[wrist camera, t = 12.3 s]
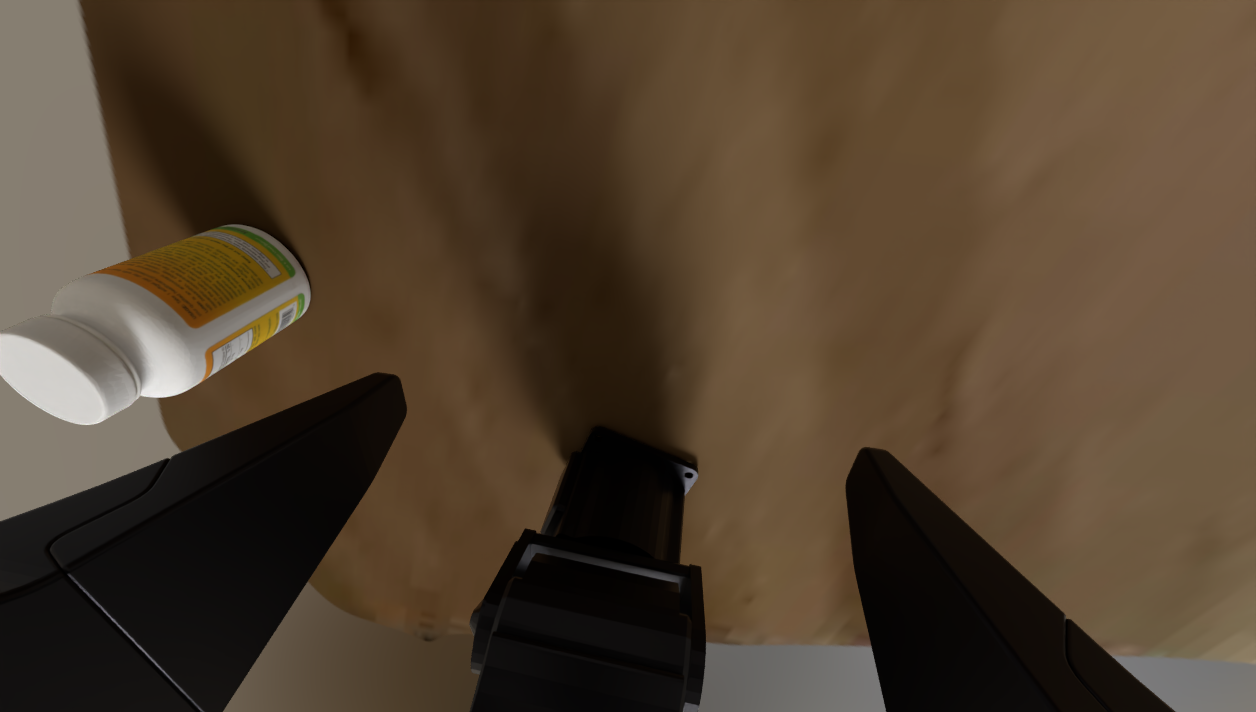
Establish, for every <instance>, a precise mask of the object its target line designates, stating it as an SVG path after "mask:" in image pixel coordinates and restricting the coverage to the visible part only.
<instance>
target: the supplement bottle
mask: <svg viewBox="0 0 1256 712" xmlns="http://www.w3.org/2000/svg"><path fill="white" fill-rule="evenodd" d="M310 297H311V292H310V286H309V282H308V279H307V277H306V274H305V272H304V271H303V269H302V267H301V265H300V264H299V262H298V261H297V260H296V258H295V257H294V256H293V255H292V254H291V253H290V251H289V250H288V249H287V248H286V247H285V246H283V245H282V244H281V243H280V242H279V241H277V240H276V239H275V238H273V237H272V236H270V235H269V234H267V233H265V232H263V231H261V230H258V229H256V228H253V227H249V226H245V225H235V224H232V225H225V226H221V227H218V228H214V229H211V230H209V231H206V232H203V233H200V234H198V235H195V236H192V237H190V238H187V239H184V240H181V241H179V242H176V243H173V244H171V245H168V246H165V247H162V248H160V249H157V250H154V251H151V252H149V253H146V254H143V255H141V256H138V257H135V258H132V259H130V260H127V261H124V262H121V263H118V264H116V265H113V266H110V267H107V268H105V269H102V270H99V271H96V272H94V273H91V274H88V275H85V276H83V277H81V278H78V279H76V280H74V281H72V282H70V283H68V284H67V285H65V286H64V287H62V288H61V289H60V290H59V291H58V293H57V294H56V296H55V298H54V300H53V303H52V308H51V314H46V315H41V316H39V317H35V318H31V319H28V320H26V321H24V322H21V323H19V324H17V325H14V326H12V327H9V328H7V329H5V330H2V331H0V375H1V376H2V377H3V378H4V380H5V381H7V382H8V383H9V384H10V385H11V386H12V388H14V389H15V390H16V391H17V392H18V393H19V394H21V395H22V396H23V397H24V398H26V399H27V400H28V401H30V402H31V403H33V404H34V405H36V406H37V407H39V408H41V409H42V410H44V411H46V412H48V413H49V414H51V415H53V416H56V417H58V418H60V419H63V420H66V421H69V422H72V423H76V424H83V425H92V424H96V423H99V422H102V421H104V420H105V419H107V418H109V417H110V416H112V415H114V414H116V413H118V412H119V411H121V410H123V409H125V408H127V407H129V406H130V405H131V404H132V403H133V402H134V401H135V400H136V399H138V398H139V396H146V397H169V396H174V395H177V394H180V393H183V392H185V391H187V390H189V389H191V388H192V387H194V386H196V385H197V384H199V383H201V382H202V381H204V380H205V379H207V378H208V377H210V376H211V375H213V374H214V373H216V372H217V371H219V370H221V369H222V368H224V367H225V366H227V365H228V364H230V363H231V362H233V361H234V360H236V359H237V358H239V357H241V356H242V355H244V354H245V353H247V352H248V351H250V350H251V349H253V348H255V347H256V346H258V345H259V344H261V343H262V342H264V341H265V340H267V339H268V338H270V337H271V336H273V335H275V334H276V333H278V332H279V331H281V330H282V329H284V328H285V327H287V326H288V325H290V324H291V323H293V322H294V321H296V320H297V319H298V318H300V317H301V316H302V315H303V314H304V313H305V311H306V310H307V308H308V306H309V303H310Z"/></svg>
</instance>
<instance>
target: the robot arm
mask: <svg viewBox="0 0 1256 712" xmlns="http://www.w3.org/2000/svg"><path fill="white" fill-rule="evenodd" d="M406 413H407V405H406V401H405V397H404V393H403V388H402V384H401V381H400V379H399V377H398V376H396V375H394V374H387V373H380V372H377V373H373V374H371V375H369V376H366V377H364V378H361V379H359V380H356V381H354V382H351V383H349V384H347V385H344V386H342V387H339V388H337V389H334V390H332V391H330V392H327V393H325V394H322V395H320V396H317V397H315V398H312V399H310V400H308V401H305V402H303V403H300V404H298V405H295V406H293V407H291V408H288V409H286V410H283V411H281V412H278V413H276V414H273V415H271V416H269V417H266V418H264V419H261V420H259V421H256V422H254V423H252V424H249V425H247V426H244V427H242V428H239V429H237V430H234V431H232V432H230V433H227V434H225V435H222V436H220V437H217V438H215V439H212V440H210V441H208V442H205V443H203V444H200V445H198V446H195V447H193V448H191V449H188V450H186V451H183V452H181V453H178V454H176V455H174V456H172V457H171V459H169V458H166V459H164V460H161V461H159V462H157V463H154V464H151V465H149V466H147V467H144V468H142V469H139V470H137V471H134V472H132V473H129V474H127V475H124V476H122V477H119V478H116V479H114V480H111V481H109V482H107V483H104V484H101V485H99V486H96V487H94V488H91V489H88V490H85V491H83V492H80V493H77V494H74V495H72V496H69V497H66V498H64V499H61V500H58V501H56V502H53V503H50V504H47V505H45V506H42V507H39V508H36V509H34V510H31V511H28V512H25V513H22V514H20V515H17V516H14V517H11V518H9V519H6V520H3V521H0V712H223V711H224V709H225V707H226V706H227V704H228V703H229V701H230V700H231V698H232V697H233V695H234V693H235V692H236V691H237V689H238V687H239V686H240V684H241V683H242V681H243V680H244V678H245V677H246V675H247V674H248V672H249V671H250V669H251V667H252V666H253V664H254V663H255V661H256V660H257V658H258V657H259V655H260V654H261V652H262V650H263V649H264V648H265V646H266V645H267V643H268V642H269V640H270V638H271V637H272V635H273V634H274V632H275V631H276V629H277V628H278V626H279V625H280V623H281V622H282V620H283V618H284V617H285V615H286V614H287V612H288V610H289V609H290V608H291V606H292V605H293V603H294V601H295V600H296V599H297V597H298V595H299V594H300V592H301V591H302V589H303V588H304V586H305V585H306V583H307V582H308V580H309V579H310V577H311V576H312V574H313V573H314V571H315V569H316V568H317V566H318V565H319V563H320V562H321V560H322V559H323V557H324V556H325V554H326V553H327V551H328V550H329V548H330V546H331V545H332V543H333V542H334V540H335V539H336V537H337V536H338V534H339V533H340V531H341V530H342V528H343V527H344V525H345V523H346V522H347V520H348V519H349V517H350V516H351V514H352V513H353V511H354V510H355V508H356V507H357V505H358V504H359V502H360V500H361V499H362V497H363V496H364V494H365V493H366V491H367V490H368V488H369V486H370V485H371V483H372V481H373V480H374V478H375V476H376V474H377V472H378V470H379V468H380V467H381V465H382V463H383V461H384V459H385V457H386V455H387V453H388V451H389V449H390V447H391V445H392V443H393V441H394V439H395V437H396V435H397V433H398V431H399V429H400V427H401V425H402V423H403V421H404V419H405V417H406ZM596 435H600V436H602V437H598V436H596ZM687 472H691V473H687ZM697 478H698V468H697V467H696V466H695V465H693V464H691V463H688V462H686V461H683V460H681V459H679V458H676V457H674V456H671V455H669V454H666V453H664V452H661V451H659V450H657V449H654V448H652V447H649V446H647V445H644V444H642V443H640V442H637V441H635V440H632V439H630V438H627V437H625V436H622V435H620V434H618V433H615V432H613V431H610V430H608V429H605V428H603V427H594V428H593V429H592V430H591V432H590V434H589V436H588V438H587V440H586V442H585V444H584V446H583V448H582V450H581V452H577V451H576V452H573V453H572V454H571V456H570V458H569V460H568V462H567V465H566V467H565V469H564V471H563V473H562V475H561V477H560V480H559V482H558V485H557V488H556V491H555V493H554V496H553V499H552V502H551V504H550V507H549V510H548V512H547V515H546V518H545V521H544V523H543V526H542V529H541V531H540V532H541V534H540V533H536V531H535V530H530V529H526V528H525V530H524V531H523V533H522V535H521V537H520V539H519V540H518V541H516V542H515V543H514V545H513V547H512V549H511V551H510V552H509V554H508V556H507V558H506V560H505V561H504V563H503V565H502V567H501V568H500V570H499V572H498V574H497V576H496V577H495V579H494V581H493V583H492V585H491V586H490V588H489V590H488V592H487V594H486V595H485V597H484V599H483V600H482V601H481V602H480V604H479V605H478V606H477V607H476V608H475V610H474V611H473V613H472V616H471V619H470V627H471V630H472V632H473V635H474V642H473V650H472V658H471V670H472V673H476V674H480V675H479V679H478V683H477V686H476V690H475V694H474V698H473V702H472V705H471V709H470V712H698V709H699V704H700V699H701V693H702V686H703V679H704V669H705V655H706V630H705V616H704V601H703V587H702V573H701V567H700V566H696V565H691V564H690V565H689V566H687V565H682V564H680V553H681V540H682V526H683V513H684V499H685V495H686V493H687V492H688V491H689V489H690V488H691V486H692V485H693V484H694V482H695V481H696V480H697ZM846 499H847V508H848V518H849V527H850V537H851V547H852V556H853V563H854V569H855V574H856V580H857V584H858V589H859V593H860V597H861V602H862V606H863V611H864V615H865V620H866V624H867V628H868V633H869V637H870V642H871V646H872V651H873V655H874V659H875V664H876V668H877V673H878V677H879V682H880V686H881V691H882V695H883V699H884V704H885V708H886V712H1175V711H1174V710H1173V709H1172V708H1170V707H1169V706H1168V705H1167V704H1166V703H1165V702H1163V701H1162V700H1161V699H1160V698H1159V697H1157V696H1156V695H1155V694H1154V693H1153V692H1152V691H1150V690H1149V689H1148V688H1147V687H1146V686H1145V685H1143V684H1142V683H1141V682H1140V681H1139V680H1137V679H1136V678H1135V677H1134V676H1133V675H1132V674H1131V673H1130V672H1128V671H1127V670H1126V669H1125V668H1124V667H1123V666H1122V665H1121V664H1120V663H1118V662H1117V661H1116V660H1115V659H1114V658H1113V657H1112V656H1111V655H1110V654H1108V653H1107V652H1106V651H1105V650H1104V649H1103V648H1102V647H1101V646H1099V645H1098V644H1097V643H1096V642H1095V641H1094V640H1093V639H1092V638H1091V637H1090V636H1088V635H1087V634H1086V633H1085V632H1084V631H1083V630H1082V629H1081V628H1080V627H1079V626H1078V625H1077V624H1075V623H1074V622H1073V621H1072V620H1071V619H1066V615H1065V614H1064V613H1063V612H1062V611H1061V610H1060V609H1059V608H1058V607H1057V606H1056V605H1055V604H1053V603H1052V602H1051V601H1050V600H1049V599H1048V598H1047V597H1046V596H1045V595H1044V594H1043V593H1042V592H1040V591H1039V590H1038V589H1037V588H1036V587H1035V586H1034V585H1033V584H1032V583H1031V582H1030V581H1028V580H1027V579H1026V578H1025V577H1024V576H1023V575H1022V574H1021V573H1020V572H1019V571H1018V570H1017V569H1015V568H1014V567H1013V566H1012V565H1011V564H1010V563H1009V562H1008V561H1007V560H1006V559H1005V558H1003V557H1002V556H1001V555H1000V554H999V553H998V552H997V551H996V550H995V549H994V548H993V547H991V546H990V545H989V544H988V543H987V542H986V541H985V540H984V539H983V538H982V537H981V536H980V535H978V534H977V533H976V532H975V531H974V530H973V529H972V528H971V527H970V526H969V525H968V524H966V523H965V522H964V521H963V520H962V519H961V518H960V517H959V516H958V515H957V514H956V513H955V512H953V511H952V510H951V509H950V508H949V507H948V506H947V505H946V504H945V503H944V502H943V501H941V500H940V499H939V498H938V497H937V496H936V495H935V494H934V493H933V492H932V491H931V490H930V489H928V488H927V487H926V486H925V485H924V484H923V483H922V482H921V481H920V480H919V479H918V478H916V477H915V476H914V475H913V474H912V473H911V472H910V471H909V470H908V469H907V468H906V467H905V466H903V465H902V464H901V463H900V462H899V461H898V460H897V459H896V458H895V457H894V456H893V455H891V454H890V453H889V452H888V451H886V450H883V449H877V448H870V447H864V448H862V449H861V450H860V451H859V453H858V455H857V457H856V459H855V461H854V463H853V466H852V468H851V470H850V472H849V474H848V477H847V480H846Z"/></svg>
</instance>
